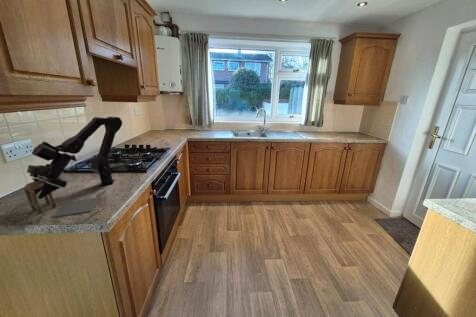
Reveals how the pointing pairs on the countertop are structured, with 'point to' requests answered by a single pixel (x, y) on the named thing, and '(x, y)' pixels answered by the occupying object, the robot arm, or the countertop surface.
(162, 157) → the countertop surface
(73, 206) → the mat
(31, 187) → the stool
